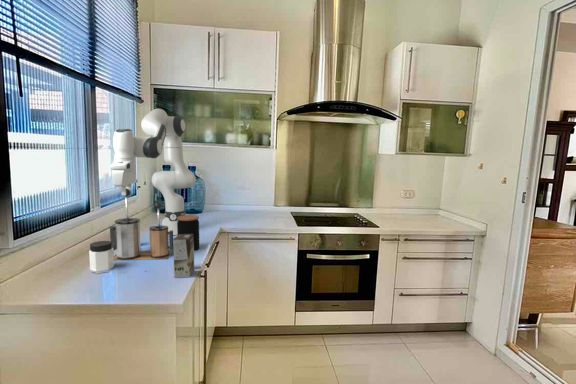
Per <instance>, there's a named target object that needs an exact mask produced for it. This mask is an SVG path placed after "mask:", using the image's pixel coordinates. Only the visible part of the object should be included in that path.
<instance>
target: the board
mask: <svg viewBox="0 0 576 384" xmlns="http://www.w3.org/2000/svg"><path fill="white" fill-rule="evenodd" d="M173 253H174V249H173V250H170V249H169V255H168V256H167V257H163V258H152V257H151V254H150V250H141V253H140V257H138V258H135V259H129V260H120V259H117V253H116V254H114V262H116V261H117V262H119V261H121V262H122V261H125V262H126V261H150V260H151V261H153V260H154V261H159V260H168V259H169V258H170V257H171V255H172V254H173Z"/></svg>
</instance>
